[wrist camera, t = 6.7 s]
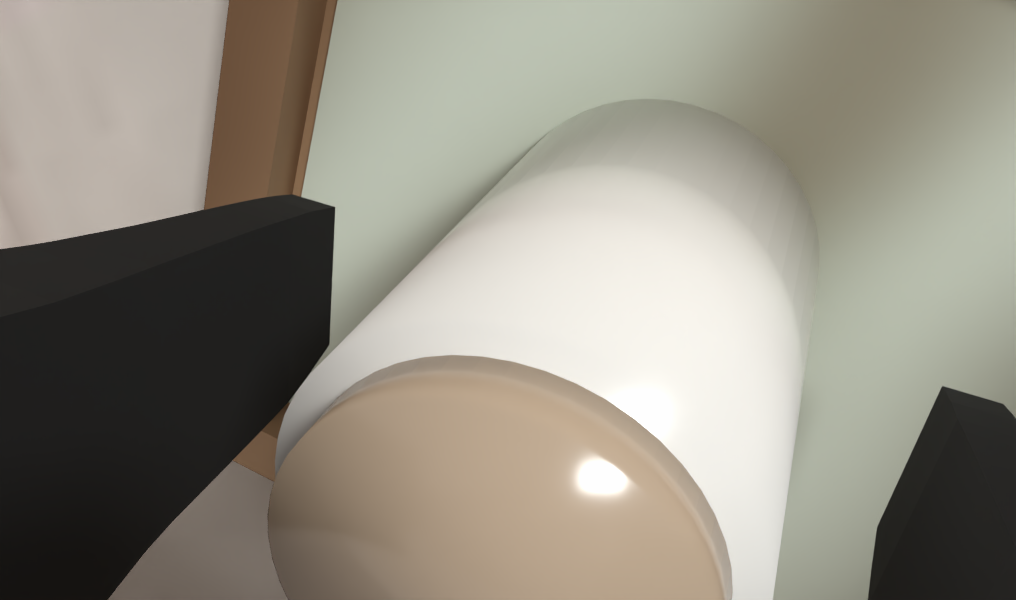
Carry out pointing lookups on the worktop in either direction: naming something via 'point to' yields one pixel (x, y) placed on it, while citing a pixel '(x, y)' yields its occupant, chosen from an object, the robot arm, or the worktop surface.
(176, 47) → the worktop surface
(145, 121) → the worktop surface
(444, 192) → the rest tray
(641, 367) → the salt cellar
